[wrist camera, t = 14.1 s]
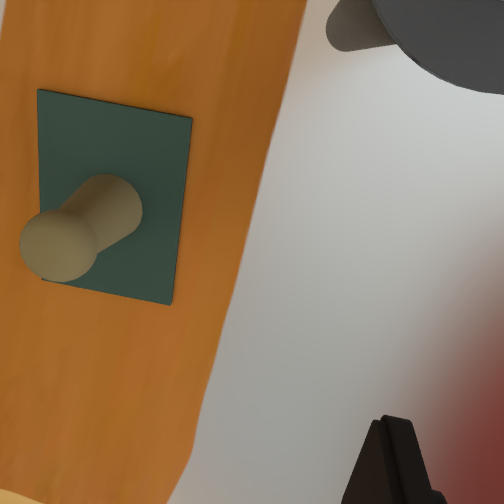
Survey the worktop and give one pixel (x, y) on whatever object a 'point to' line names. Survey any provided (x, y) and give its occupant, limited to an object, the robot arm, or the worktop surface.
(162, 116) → the side mat
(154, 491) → the worktop surface
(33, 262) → the cork
